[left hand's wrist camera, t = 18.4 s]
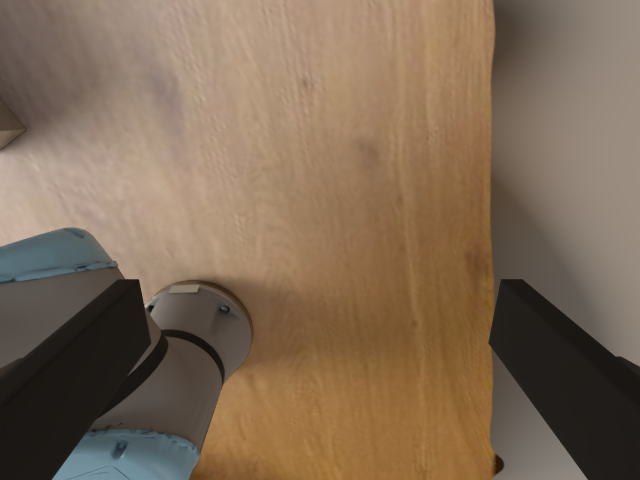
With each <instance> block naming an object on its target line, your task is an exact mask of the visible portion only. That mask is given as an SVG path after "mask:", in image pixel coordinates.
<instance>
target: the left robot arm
mask: <svg viewBox="0 0 640 480" xmlns="http://www.w3.org/2000/svg"><path fill="white" fill-rule="evenodd" d="M117 266H118V264H117V262H116V261H113V260H112V259H111V258H110V257H109V255H108V254H107V253H106V252H105V250H104V249H103V248H102V247H101V245H100V244H99V243H98V241H97V240H96V239H95V238H94V236H93V235H92V234H90V233H89V232H87V231H85V230H83V229H79V228H63V229H59V230H55V231H51V232H47V233H44V234H40V235H37V236H34V237H30V238H27V239H24V240H20V241H17V242H14V243H11V244H8V245H4V246H1V247H0V480H189V477H190V475H191V473H192V470H193V468H194V467H195V466H196V464H197V462H198V460H199V457H200V452H201V449H202V446H203V443H204V440H205V437H206V434H207V431H208V428H209V425H210V422H211V419H212V416H213V413H214V410H215V407H216V404H217V401H218V398H219V395H220V392H221V389H222V386H223V384H224V383H225V382H226V381H227V380H228V379H229V377H230V376H231V375H232V374H233V373H234V372H235V370H237V369H238V368H239V367H240V366H241V364H242V363H243V362H244V360H245V359H246V357H247V355H248V352H249V350H250V346H251V343H252V338H253V326H252V321H251V318H250V316H249V314H248V312H247V310H246V308H245V307H244V305H243V304H242V303H241V302H240V301H239V300H238V299H237V298H236V297H235V296H234V295H233V294H231V293H230V292H228V291H227V290H225V289H223V288H221V287H219V286H217V285H214V284H211V283H207V282H202V281H182V282H178V283H174V284H171V285H169V286H167V287H165V288H163V289H162V290H160V291H159V292H158V293H157V294H156V295H155V296H154V297H153V298H152V299H151V300H150V301H149V302H148V303H147V305H146V306H145V307H144V303H143V298H142V293H141V288H140V283H139V279H125V278H124V276H123V275H122V273H121V272H120V270H119V269H118V267H117ZM489 344H490V346H491V347H492V349H493V350H494V351H495V353H496V354H497V355H498V357H499V358H500V359H501V361H502V362H503V364H504V365H505V366H506V368H507V369H508V370H509V372H510V373H511V375H512V376H513V377H514V379H515V380H516V382H517V383H518V384H519V386H520V387H521V388H522V390H523V391H524V393H525V394H526V395H527V397H528V398H529V399H530V401H531V402H532V403H533V405H534V406H535V408H536V409H537V410H538V412H539V413H540V414H541V416H542V417H543V419H544V420H545V421H546V423H547V424H548V425H549V427H550V428H551V430H552V431H553V432H554V434H555V435H556V436H557V438H558V439H559V441H560V442H561V443H562V445H563V446H564V447H565V449H566V450H567V452H568V453H569V454H570V456H571V457H572V458H573V460H574V461H575V463H576V464H577V465H578V467H579V468H580V469H581V471H582V472H583V473H584V475H585V476H586V478H587V479H588V480H640V367H639V366H637V365H635V364H633V363H632V362H630V361H628V360H626V359H624V358H623V357H615V356H614V355H613V354H612V353H611V352H609V351H608V350H607V349H606V348H605V347H603V346H602V345H601V344H600V343H598V342H597V341H596V340H595V339H594V338H592V337H591V336H590V335H589V334H588V333H586V332H585V331H584V330H583V329H582V328H580V327H579V326H578V325H577V324H576V323H574V322H573V321H572V320H571V319H570V318H568V317H567V316H566V315H565V314H563V313H562V312H561V311H560V310H559V309H557V308H556V307H555V306H554V305H553V304H551V303H550V302H549V301H548V300H547V299H545V298H544V297H543V296H542V295H541V294H539V293H538V292H537V291H536V290H535V289H533V288H532V287H531V286H530V285H528V284H527V283H526V282H525V281H524V280H522V279H501V283H500V288H499V293H498V298H497V303H496V308H495V313H494V318H493V323H492V328H491V333H490V338H489Z"/></svg>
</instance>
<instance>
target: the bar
mask: <svg viewBox="0 0 640 480" xmlns="http://www.w3.org/2000/svg"><path fill="white" fill-rule="evenodd" d="M24 131H26V128H25V127H24V126H23V125H22V124H21V123H20V121H19V120H18V119H17V118H16V117H15V116H14V114H13V113H12V112H11V111H10V110H9V109H8V107H7V106H6V105H5V104H4V103H3V101H2V100H1V99H0V150H1V149H2V148H3V147H5V146H6V145H7V144H8V143H10V142H11V141H12V140H14V139H15V138H16V137H18V136H19V135H20V134H22V133H23V132H24Z"/></svg>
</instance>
